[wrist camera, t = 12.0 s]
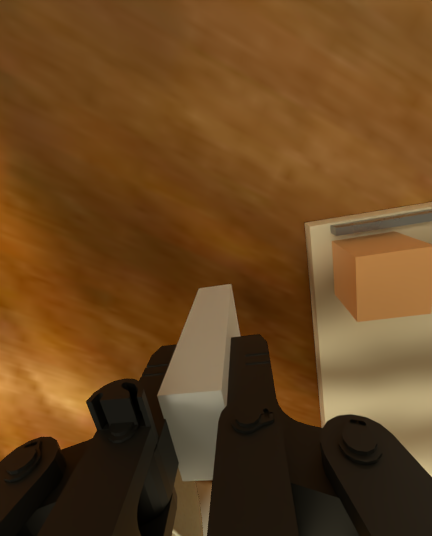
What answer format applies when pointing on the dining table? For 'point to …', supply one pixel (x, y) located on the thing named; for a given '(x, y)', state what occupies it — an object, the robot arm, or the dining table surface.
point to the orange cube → (383, 276)
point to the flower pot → (187, 509)
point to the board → (371, 347)
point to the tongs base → (382, 222)
